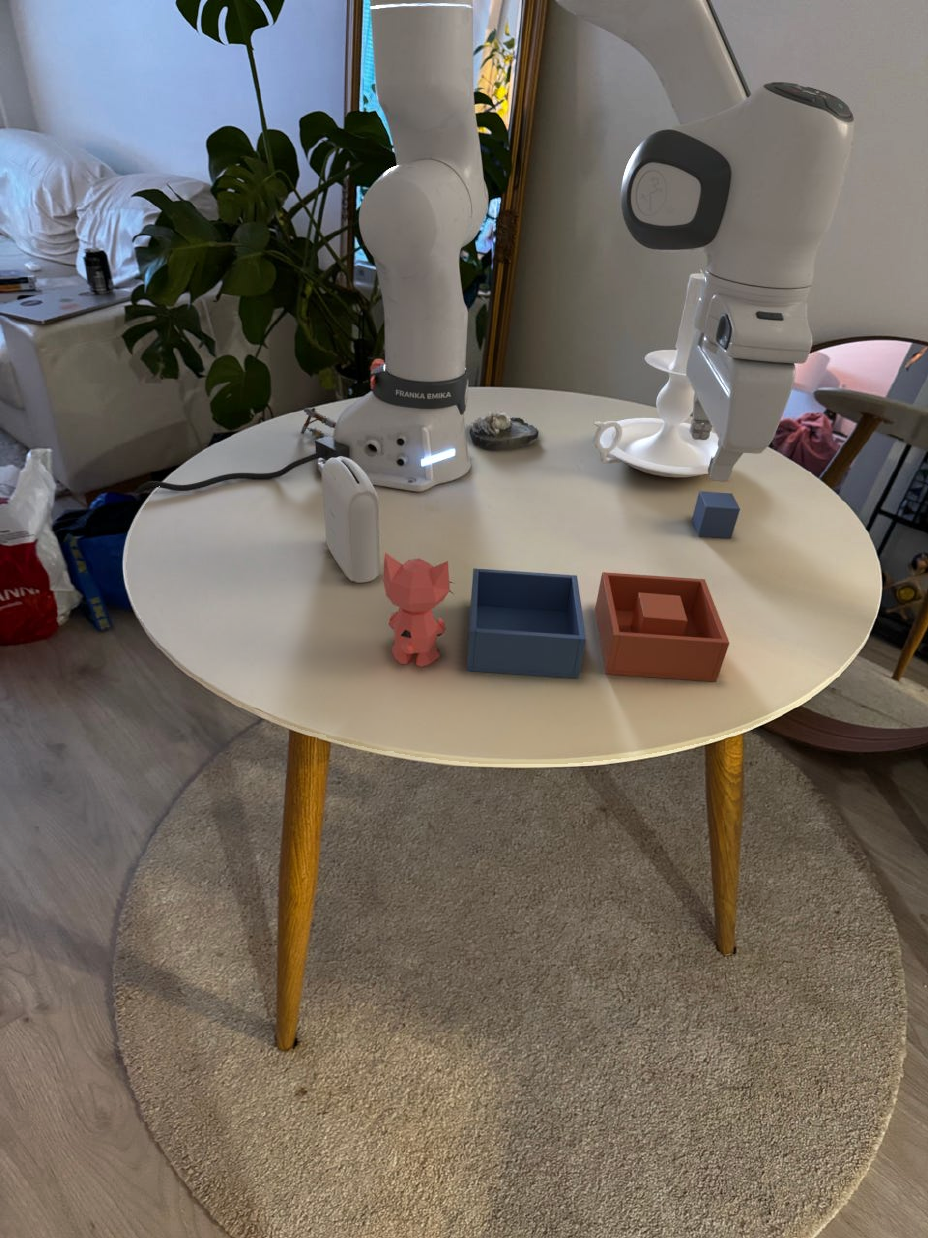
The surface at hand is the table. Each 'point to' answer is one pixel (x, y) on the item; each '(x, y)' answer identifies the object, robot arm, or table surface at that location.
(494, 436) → the shell on grey dish
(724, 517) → the slate block
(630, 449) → the candlestick
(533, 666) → the slate bin
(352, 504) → the photo printer
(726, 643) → the terracotta bin
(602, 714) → the table surface
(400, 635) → the cat figurine
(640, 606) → the terracotta block
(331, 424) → the wooden post with brackets
